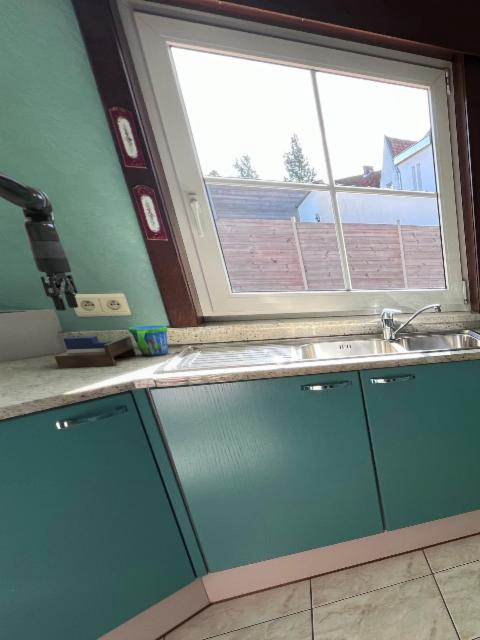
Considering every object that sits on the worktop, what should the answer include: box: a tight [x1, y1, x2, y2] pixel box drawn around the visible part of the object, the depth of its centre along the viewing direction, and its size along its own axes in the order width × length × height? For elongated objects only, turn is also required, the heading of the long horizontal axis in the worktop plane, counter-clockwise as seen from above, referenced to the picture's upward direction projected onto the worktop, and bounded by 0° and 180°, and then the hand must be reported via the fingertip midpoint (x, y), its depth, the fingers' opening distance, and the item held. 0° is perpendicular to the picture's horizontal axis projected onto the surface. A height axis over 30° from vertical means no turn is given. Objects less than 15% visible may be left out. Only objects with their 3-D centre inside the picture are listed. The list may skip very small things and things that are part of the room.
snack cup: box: [128, 324, 169, 357], centre depth 183 cm, size 16×10×10 cm
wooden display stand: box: [54, 335, 137, 369], centre depth 170 cm, size 14×20×7 cm
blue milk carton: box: [63, 335, 112, 353], centre depth 166 cm, size 11×5×5 cm, turn 115°
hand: (67, 309), depth 161 cm, fingers open, 8 cm apart
